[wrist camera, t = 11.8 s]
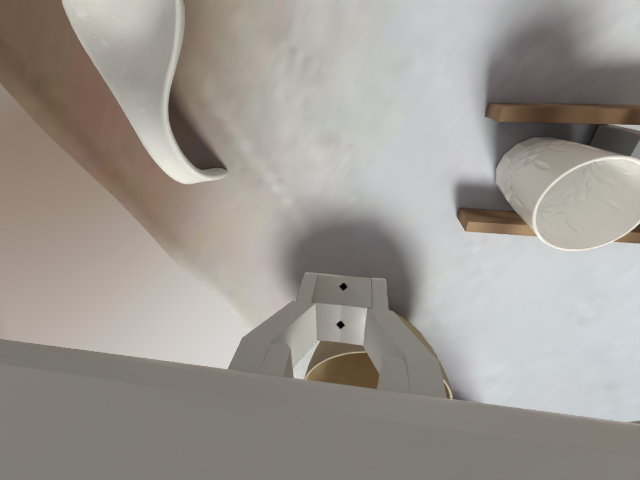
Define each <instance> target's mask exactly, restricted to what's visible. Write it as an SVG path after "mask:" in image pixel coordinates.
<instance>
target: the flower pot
mask: <svg viewBox="0 0 640 480" xmlns="http://www.w3.org/2000/svg"><path fill="white" fill-rule="evenodd" d="M389 311H391V310H389ZM394 313H395V312H394ZM395 314H396V315H397V316H398V317H399V318H400V319H401V321H402V322H403V323H404V324H405V325H406V326H407V327H408V328H409V329H410V330H411V331H412V333H413V334H414V335H415V336H416V337H417V338H418V339H419V340H420V341H421V342H422V344H423V345H424V346H425V347H426V348H427V349H428V350H429V351H430V352H431V353H432V355H433V356H434V357H435V358H436V359H437V360H438V358H437V356H436V354H435V353H434V351H433V349H432V348H431V346H430V345H429V343H428V342H427V341H426V339H425V338H424V337H423V336H422V334H421V333H420V332H419V331H418V330H417V329H416V328H415V327H414V326H413V325H412V324H411V323H410V322H408V321H407V320H406V319H404V318H403V317H402V316H400V315H398V314H397V313H395ZM438 361H439V360H438ZM439 365H440V370H441V374H442V378H443V383H444V387H445V391H446V396H447V399H453V396H452V392H451V389H450V385H449V382H448V380H447V377H446V374H445V372H444V370H443V368H442V366H441V364H440V362H439ZM304 380H312V381H319V382H327V383H334V384H342V385H349V386H357V387H364V388H372V389H377V386H378V380H379V373H378V371H377V369H376V368H375V366H374V364H373V362H372V361H371V359H370V357H369V355H368V354H367V352H366V350H365V349H364V346H363V345H355V344H348V343H341V342H331V341H320V343H319V345H318V346H317V348H316V350H315V352H314V354H313V356H312V358H311V361H310V363H309V366H308V369H307V372H306V375H305V379H304Z"/></svg>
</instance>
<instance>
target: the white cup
mask: <svg viewBox="0 0 640 480" xmlns="http://www.w3.org/2000/svg"><path fill="white" fill-rule="evenodd" d="M495 182H496V184H497V186H498V188H499V189H500V191H501V193H502V194H503V195H504V196H505V198H506V200H507V201H508V202H509V203H510V205H511V206H512V207H513V209H514V210H515V211H516V212H517V213H518V214H519V216H520V217H521V218H522V219H523V220H524V221H525V222H526V224H527V225H528V226H529V227H530V228H531V229H532V230H533V232H534V233H535V234H536V235H537V236H538V237H539V239H540V240H542V241H543V242H544V243H546V244H547V245H549V246H551V247H554V248H557V249H561V250H567V251H580V250H588V249H593V248H597V247H600V246H603V245H606V244H609V243H611V242H613V241H615V240H617V239H619V238H621V237H623V236H624V235H626V234H627V233H629V232H630V231H631V230H633V229H634V228H635V227H636V226H637V225H639V224H640V160H639V159H637V158H634V157H630V156H626V155H622V154H619V153H615V152H611V151H607V150H603V149H600V148H596V147H592V146H589V145H585V144H579V143H575V142H572V141H566V140H560V139H556V138H553V137H533V138H530V139H527V140H525V141H522V142H520V143H517V144H516V145H515V146H514V147H512V148H511V149H510V150H509V151H508V152H507V153H505V154H504V155H503V157H502V159H501V161H500V163H499V164H498V166H497V168H496V180H495Z"/></svg>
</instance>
